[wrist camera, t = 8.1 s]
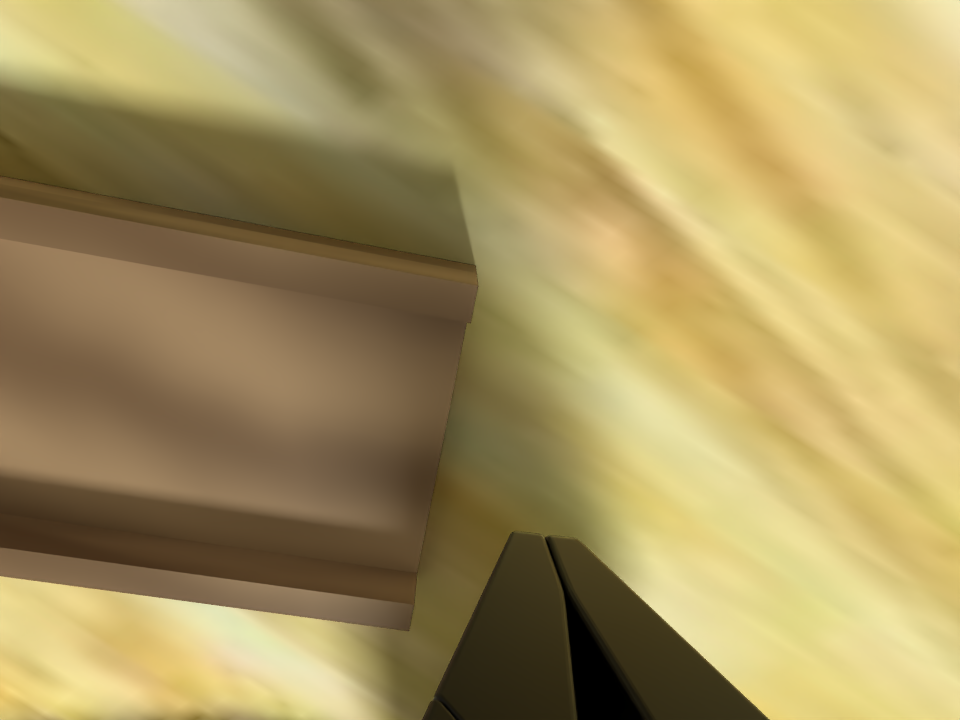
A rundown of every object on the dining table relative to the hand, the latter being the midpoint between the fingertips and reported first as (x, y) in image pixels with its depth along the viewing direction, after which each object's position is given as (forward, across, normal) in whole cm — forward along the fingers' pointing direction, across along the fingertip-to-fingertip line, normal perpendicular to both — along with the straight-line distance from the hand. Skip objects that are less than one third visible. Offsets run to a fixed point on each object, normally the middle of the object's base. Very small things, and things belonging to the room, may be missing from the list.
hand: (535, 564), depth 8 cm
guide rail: (+12, +12, +4) cm, 18 cm away
